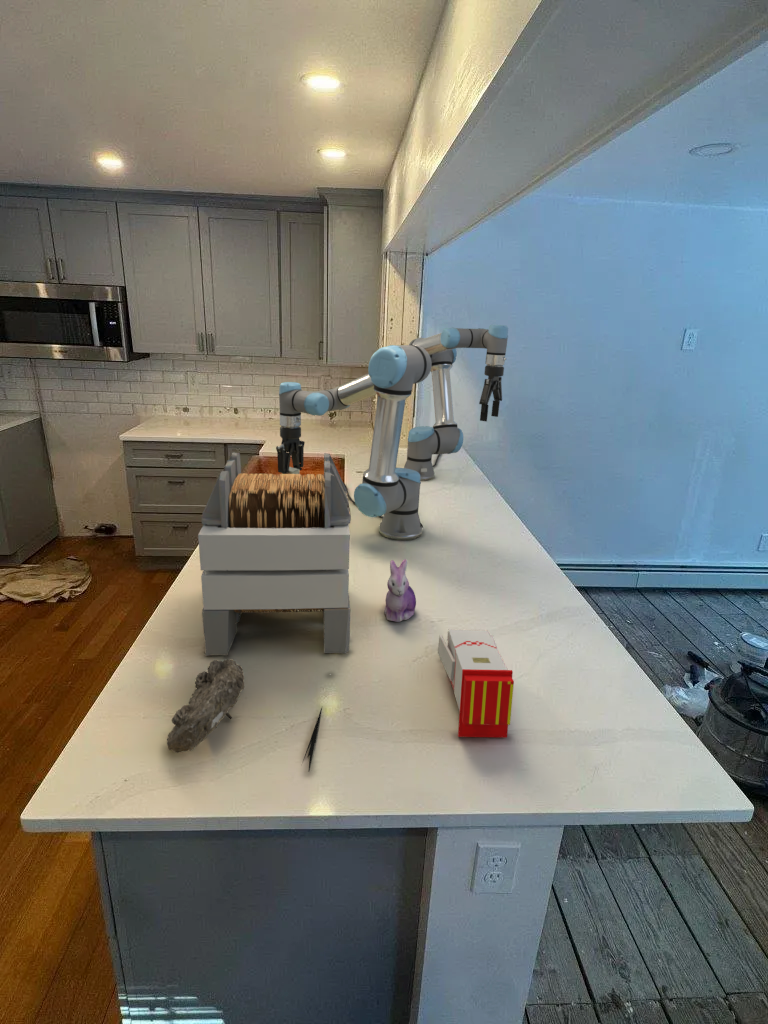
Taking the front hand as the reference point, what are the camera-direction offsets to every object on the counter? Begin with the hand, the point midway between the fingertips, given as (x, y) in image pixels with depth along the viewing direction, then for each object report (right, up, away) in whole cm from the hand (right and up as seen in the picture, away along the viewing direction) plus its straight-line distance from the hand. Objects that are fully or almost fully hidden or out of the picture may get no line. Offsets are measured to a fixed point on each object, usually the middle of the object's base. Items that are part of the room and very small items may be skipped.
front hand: (291, 488), depth 211 cm
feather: (+22, -49, -103) cm, 116 cm away
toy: (+53, -46, -93) cm, 116 cm away
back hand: (+78, +30, +22) cm, 86 cm away
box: (0, -3, +1) cm, 4 cm away
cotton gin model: (+9, -36, -68) cm, 77 cm away
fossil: (+2, -48, -103) cm, 114 cm away
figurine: (+39, -35, -64) cm, 83 cm away
